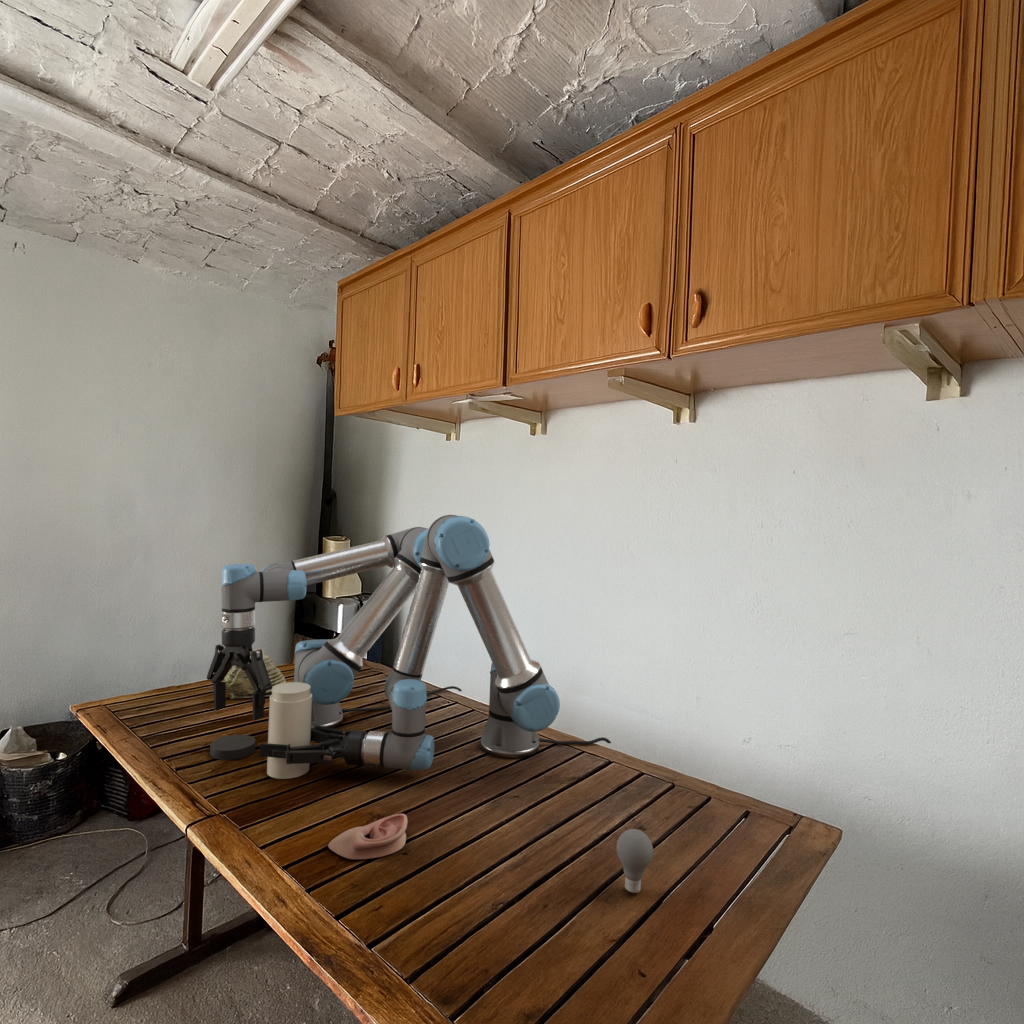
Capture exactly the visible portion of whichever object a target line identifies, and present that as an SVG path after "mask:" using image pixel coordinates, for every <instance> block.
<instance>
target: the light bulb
mask: <svg viewBox="0 0 1024 1024" xmlns="http://www.w3.org/2000/svg"><path fill="white" fill-rule="evenodd" d="M615 849H616V854H617V857H618V859H619V861H620V863H621V865H622V867H623V873H624V874H623V875H624V876H625V878H624V888H625V890H627V891H628V892H630V893H634V894H635V893H639V892H640V891H641V889H642V887H641V886H642V879H643V877H644V875H645V871H646V868H647V867H648V866H649V864H650V863H651V861H652V859H653V855H654V847H653V843H652V841H651V838H649V836H648V835H647V834H646V833H645V832H643V831H642V830H641V829H636V828H629V829H627V830H625V831H623V832H622V833H621V834H620V835H619V837H618V839H617V841H616V847H615Z"/></svg>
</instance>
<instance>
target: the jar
mask: <svg viewBox="0 0 1024 1024" xmlns="http://www.w3.org/2000/svg"><path fill="white" fill-rule="evenodd" d="M310 690H311V686H310V685H309V684H306V683H301V682H294V681H289V682H286V683H282V684H278V685H275V686H274V687H272V690H271V691H272V695H271V696H268V697H269V699H268V700H269V701H268V725H267V727H268V728H267V743H268V744H281V745H288V744H290V747H297V746H306V745H311V743H312V742H311V717H312V693H310ZM310 766H311V763H302V764H286V758H275V757H266V774H267V776H269V778H274V779H276V780H277V779H278V780H288V779H289V780H290V779H295V778H299V777H302V776H304V775H305V774H307V773H308V772H309V771H310Z"/></svg>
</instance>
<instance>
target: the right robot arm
mask: <svg viewBox="0 0 1024 1024" xmlns="http://www.w3.org/2000/svg"><path fill="white" fill-rule="evenodd" d="M491 552H492V551H491V550H490V538H489V535H488V532H487V531H486V529H485V528H484V527H483V525H481V524H480V523H479V521H477V520H476V519H474V518H471V517H469V516H465V515H457V514H445V515H441V516H439V517H438V518H436V519H435V520H434V521H433V522H432V523H431V524H430V526H429V527H428V532H427V534H426V538H425V542H424V547H423V551H422V555H421V558H420V562H419V564H420V566H421V568H422V569H421V573H420V576H419V580H418V583H417V587H416V590H415V592H414V593H413V597H412V601H411V603H410V607H409V610H408V613H407V618H406V621H405V624H404V627H403V631H402V634H401V638H400V642H399V644H398V648H397V651H396V656H395V658H394V662H393V665H392V669H391V671H390V674H389V675H388V676H387V678H386V680H385V682H384V695H385V697H386V699H387V701H388V703H389V706H391V708H390V709H391V732H388V731H378V730H377V731H376V730H369V731H367V730H360V729H351V730H350V729H339V728H328V727H323V726H314V728H311V743H312V742H314V743H315V744H310V745H306V746H297V747H290V744H288V745H281V744H268V742H267V743H266V742H261V743H259V753H258V756H259V757H262V758H263V757H264V758H267V757H275V758H286V764H302V763H310V764H327V765H331V764H333V761H334V760H333V759H338V758H343V759H344V763H345V764H346V765H347V766H357V767H359V766H363V765H364V766H365V767H374V768H375V769H379V768H390V769H400V770H408V771H426V770H429V769H430V768H431V766H432V764H433V762H434V761H433V760H434V757H435V747H436V746H435V737H434V736H433V735H430V734H426V712H427V701H428V696H426V693H427V685H426V683H425V682H424V681H421V680H422V678H423V674H424V671H425V667H426V664H427V660H428V656H429V653H430V650H431V646H432V643H433V640H434V637H435V633H436V630H437V626H438V623H439V620H440V615H441V613H442V608H443V606H444V602H445V599H446V597H447V592H448V588H449V585H451V584H452V585H454V586H457V588H458V590H459V592H460V594H461V597H462V598H463V601H464V603H465V605H466V607H467V610H468V611H469V614H470V617H471V619H472V620H473V623H474V625H475V628H476V629H477V632H478V634H479V637H480V638H481V640H482V643H483V644H484V647H485V649H486V652H487V654H488V656H489V658H490V661H491V665H490V671H489V674H490V677H489V702H488V703H489V704H488V717H487V719H486V722H485V726H484V729H483V731H482V733H481V736H480V748H481V750H482V751H483V752H485V753H486V754H488V755H490V756H494V757H498V758H503V759H522V758H527V757H531V756H533V755H535V754H537V753H538V752H539V750H540V743H548V744H554V745H586V746H587V745H592V744H596V743H600V742H606V744H612V741H611V740H609V738H607V737H598V738H594V739H592V740H554V739H548V738H539V734H538V732H541V731H543V730H546V729H547V728H548V727H550V726H551V725H552V724H553V723H554V722H555V720H556V719H557V716H558V715H559V712H560V707H561V702H560V701H561V700H560V697H559V695H558V692H557V691H556V689H555V688H554V687H553V686H552V685H550V683H549V681H548V679H547V677H546V674H545V672H544V670H543V668H542V666H541V663H540V662H539V661H537V660H535V659H531V657H530V655H529V652H528V650H527V647H526V646H525V643H524V641H523V639H522V636H521V634H520V631H519V630H518V627H517V625H516V623H515V621H514V618H513V616H512V614H511V612H510V609H509V606H508V605H507V603H506V600H505V598H504V596H503V594H502V591H501V589H500V586H499V584H498V582H497V580H496V577H495V575H494V573H493V568H494V565H495V559H494V556H493V554H492V553H491Z"/></svg>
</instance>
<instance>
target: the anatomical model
mask: <svg viewBox="0 0 1024 1024" xmlns="http://www.w3.org/2000/svg"><path fill="white" fill-rule="evenodd" d="M407 827H408V816H407V815H406V814H405V813H396V814H392V815H388V816H385V817H383V818H380V819H377V820H376V821H373V822H371V823H368V824H366V825H363V826H356V827H352V828H350V829H347V830H345V831H343V832H341V833H340V834H338V835H337V836H335V837H334V838H333V839H331V841H329V843H328V845H327V847H328V849H329V850H331V851H332V852H334V853H335V854H337V855H338V856H341V857H342V858H345V859H347V860H355V861H356V860H367V859H369V860H370V859H375V858H381V857H385V856H388V855H391V854H395V853H396V852H398V851H400V850H401V849H403V847H404V846H405V844H406V841H407V833H406V830H407Z"/></svg>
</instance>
